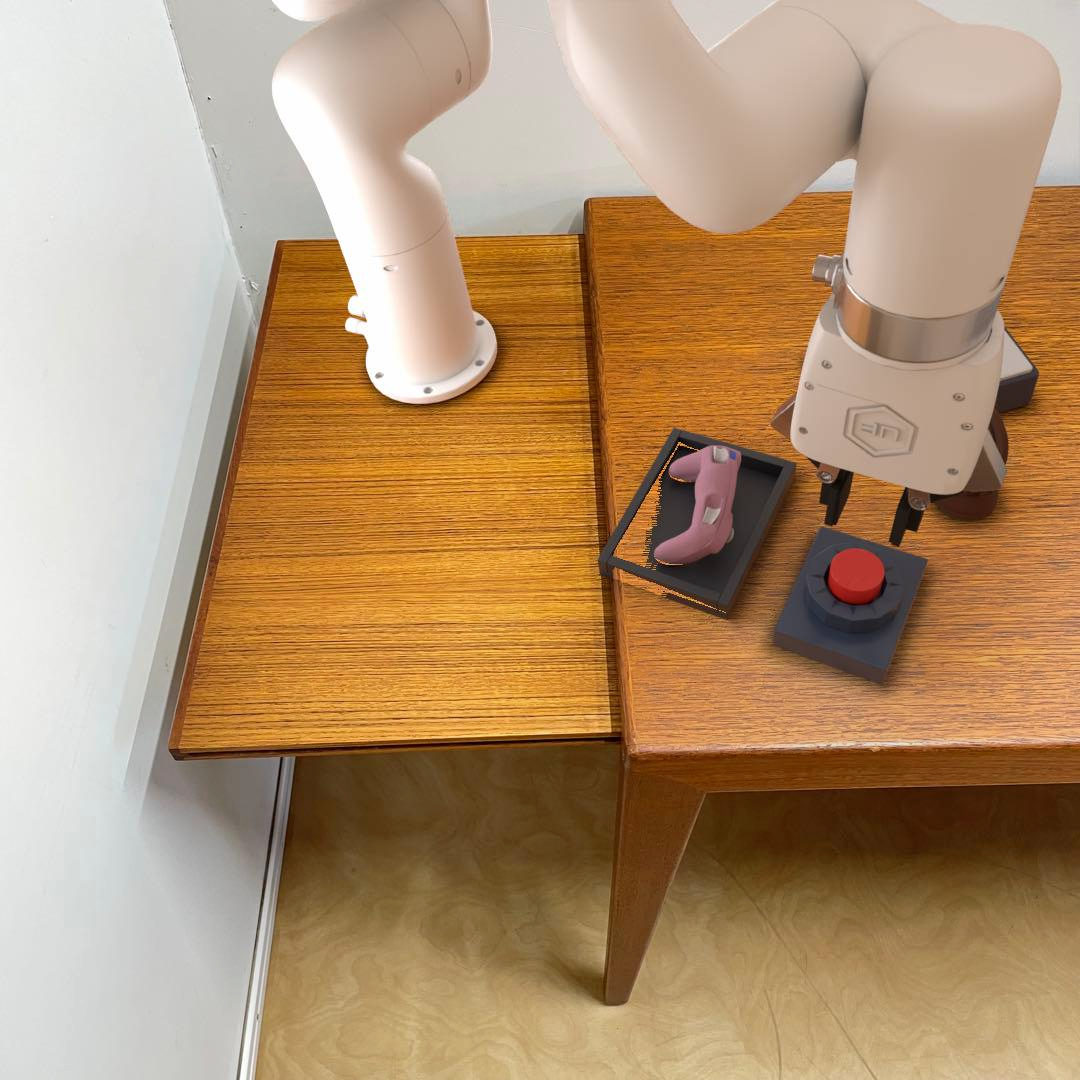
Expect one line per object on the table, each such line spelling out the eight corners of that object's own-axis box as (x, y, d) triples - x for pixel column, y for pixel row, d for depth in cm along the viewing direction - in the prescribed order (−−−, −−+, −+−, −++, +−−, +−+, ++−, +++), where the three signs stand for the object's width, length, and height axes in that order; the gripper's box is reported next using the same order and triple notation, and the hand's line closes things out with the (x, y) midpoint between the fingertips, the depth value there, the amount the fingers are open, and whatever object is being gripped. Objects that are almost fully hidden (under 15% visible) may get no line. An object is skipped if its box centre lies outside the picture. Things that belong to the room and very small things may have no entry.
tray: (599, 574, 77) (597, 559, 76) (674, 443, 84) (673, 427, 83) (727, 620, 74) (727, 605, 72) (794, 479, 80) (796, 462, 79)
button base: (771, 645, 72) (775, 616, 69) (817, 542, 77) (822, 510, 73) (882, 685, 69) (891, 657, 66) (923, 575, 74) (933, 544, 70)
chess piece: (979, 470, 78) (1010, 380, 70) (1009, 519, 75) (1045, 431, 67) (923, 483, 78) (947, 394, 70) (950, 532, 75) (980, 446, 67)
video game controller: (701, 585, 77) (745, 541, 71) (647, 564, 76) (687, 519, 70) (715, 486, 82) (756, 438, 76) (665, 466, 82) (703, 417, 76)
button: (820, 594, 70) (823, 580, 68) (837, 555, 71) (840, 541, 70) (872, 611, 68) (875, 598, 67) (887, 571, 70) (891, 557, 69)
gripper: (731, 308, 50) (725, 523, 65) (1080, 390, 44) (987, 607, 59) (782, 220, 54) (765, 443, 69) (1112, 285, 48) (1017, 515, 63)
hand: (868, 517), depth 64 cm, fingers open, 3 cm apart
